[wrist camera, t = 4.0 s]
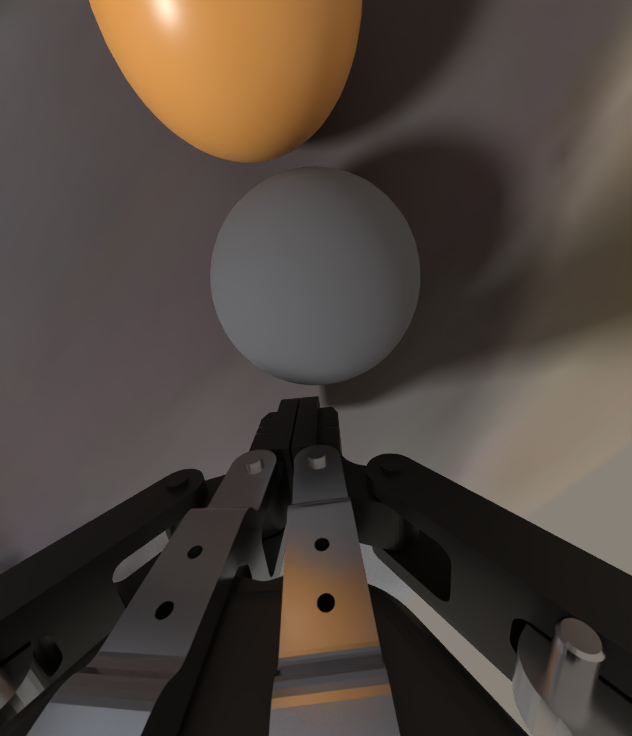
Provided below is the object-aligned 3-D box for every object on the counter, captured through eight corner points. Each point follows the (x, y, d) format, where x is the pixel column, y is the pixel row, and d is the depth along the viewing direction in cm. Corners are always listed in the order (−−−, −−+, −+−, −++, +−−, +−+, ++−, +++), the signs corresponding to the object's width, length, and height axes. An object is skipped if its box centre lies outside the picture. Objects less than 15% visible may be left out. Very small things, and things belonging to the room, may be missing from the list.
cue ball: (171, 395, 8) (200, 249, 11) (345, 425, 11) (332, 302, 14) (255, 226, 4) (267, 62, 7) (502, 343, 7) (437, 191, 10)
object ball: (138, 70, 10) (-129, -265, 4) (289, -57, 9) (215, -681, 4) (239, 231, 11) (128, 131, 5) (387, 125, 10) (464, -141, 4)
